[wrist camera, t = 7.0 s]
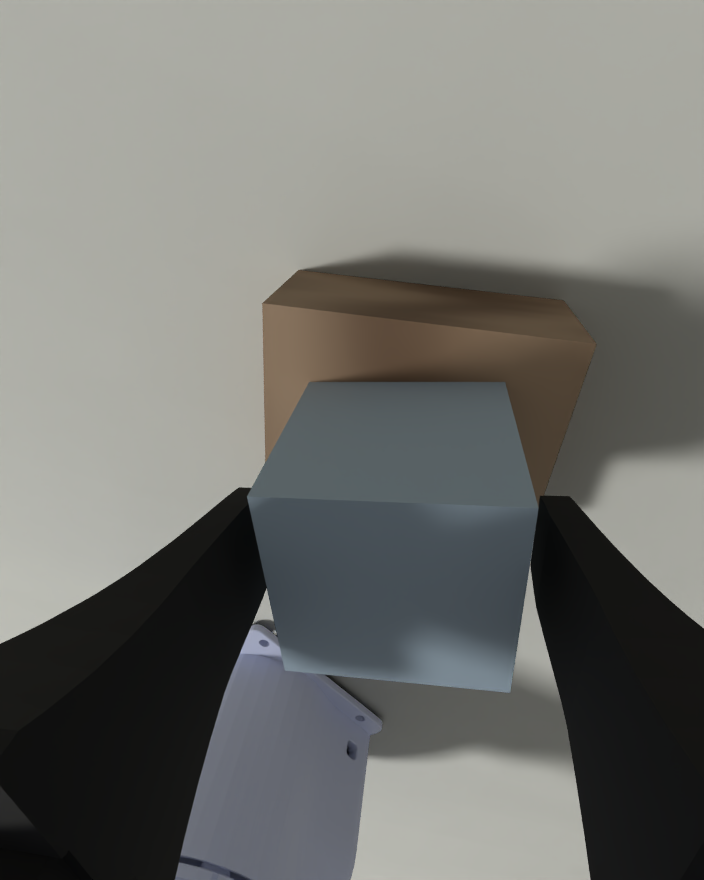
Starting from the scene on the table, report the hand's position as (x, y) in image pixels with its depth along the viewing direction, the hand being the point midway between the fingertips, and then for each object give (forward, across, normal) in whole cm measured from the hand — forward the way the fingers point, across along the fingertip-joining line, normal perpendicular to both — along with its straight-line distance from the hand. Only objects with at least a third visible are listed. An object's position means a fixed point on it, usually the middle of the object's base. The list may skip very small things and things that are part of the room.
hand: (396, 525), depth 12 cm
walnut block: (+7, 0, 0) cm, 7 cm away
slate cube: (+3, 0, 0) cm, 3 cm away
